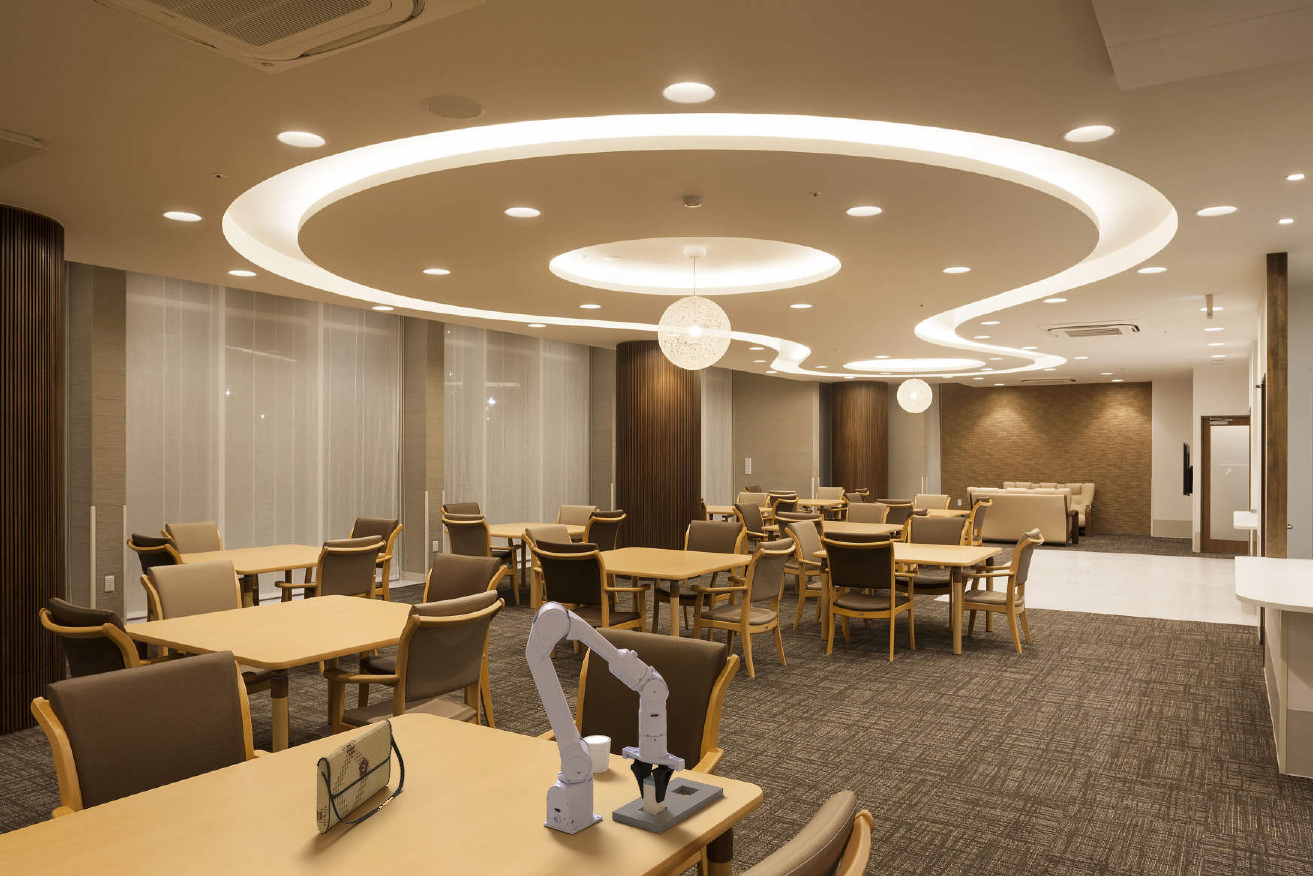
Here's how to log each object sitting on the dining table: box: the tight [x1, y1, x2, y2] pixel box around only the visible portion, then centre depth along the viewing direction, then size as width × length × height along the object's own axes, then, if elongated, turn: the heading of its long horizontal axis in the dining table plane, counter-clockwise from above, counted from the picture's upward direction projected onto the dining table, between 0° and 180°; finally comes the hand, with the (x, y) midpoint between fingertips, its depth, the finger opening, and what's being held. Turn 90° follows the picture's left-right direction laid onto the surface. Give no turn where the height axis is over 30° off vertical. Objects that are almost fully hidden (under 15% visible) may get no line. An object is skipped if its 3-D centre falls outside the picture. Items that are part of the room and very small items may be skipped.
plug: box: [643, 773, 665, 815], centre depth 172 cm, size 3×3×7 cm
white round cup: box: [583, 734, 612, 774], centre depth 200 cm, size 7×7×7 cm
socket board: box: [611, 776, 724, 834], centre depth 177 cm, size 24×12×2 cm, turn 144°
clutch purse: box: [316, 718, 406, 834], centre depth 177 cm, size 30×7×15 cm, turn 171°
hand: (653, 799), depth 172 cm, fingers closed on plug, 3 cm apart
